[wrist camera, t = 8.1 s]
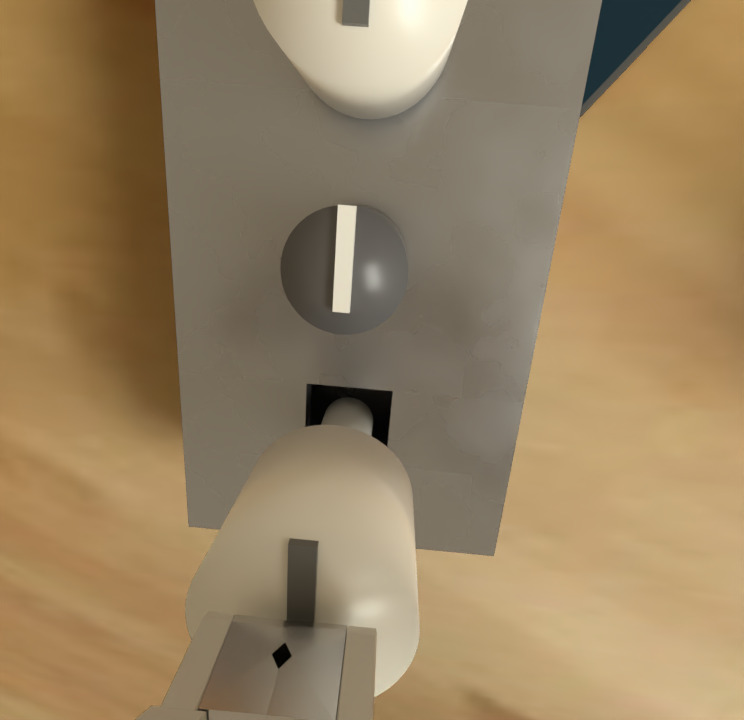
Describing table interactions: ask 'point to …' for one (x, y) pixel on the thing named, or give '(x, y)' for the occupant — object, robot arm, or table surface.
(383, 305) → the pot dial
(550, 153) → the console
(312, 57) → the knob
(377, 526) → the knob
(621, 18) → the smartphone
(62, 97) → the table surface
